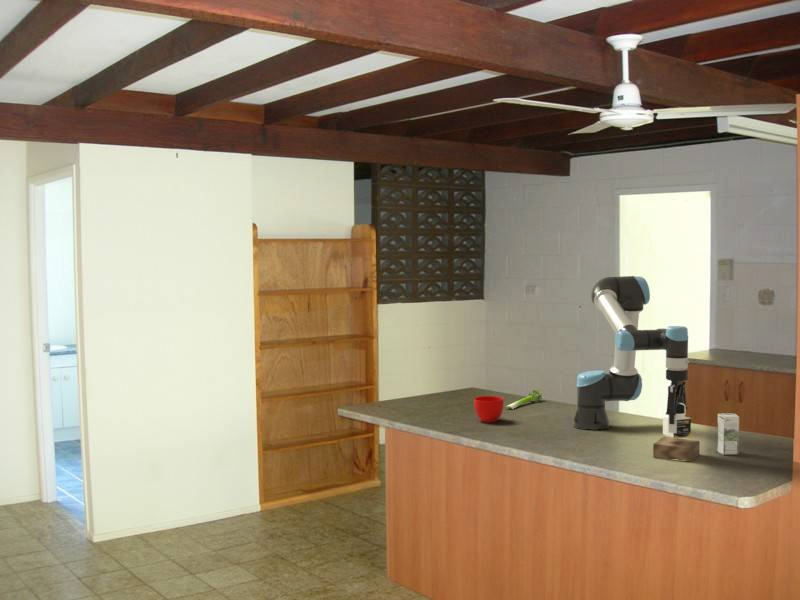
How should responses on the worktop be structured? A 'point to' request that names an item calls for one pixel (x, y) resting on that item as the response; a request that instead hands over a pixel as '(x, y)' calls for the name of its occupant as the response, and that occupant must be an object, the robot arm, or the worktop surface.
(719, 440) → the syrup box
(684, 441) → the walnut base
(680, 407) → the medicine bottle
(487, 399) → the ceramic cup
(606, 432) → the worktop surface
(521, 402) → the leek
